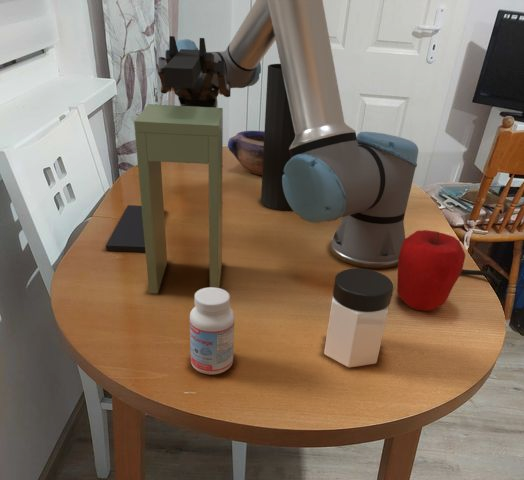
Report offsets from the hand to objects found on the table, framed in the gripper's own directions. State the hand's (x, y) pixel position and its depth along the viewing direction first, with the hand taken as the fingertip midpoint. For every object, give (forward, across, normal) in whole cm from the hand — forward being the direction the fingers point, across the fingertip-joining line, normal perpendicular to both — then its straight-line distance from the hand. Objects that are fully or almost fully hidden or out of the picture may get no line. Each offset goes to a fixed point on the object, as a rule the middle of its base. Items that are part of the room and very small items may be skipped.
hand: (186, 46), depth 82 cm
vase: (-45, -19, -16) cm, 51 cm away
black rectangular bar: (0, 0, -4) cm, 4 cm away
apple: (-4, -41, -40) cm, 57 cm away
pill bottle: (+13, -6, -49) cm, 51 cm away
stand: (-9, 0, -36) cm, 37 cm away
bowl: (-67, -16, -3) cm, 69 cm away
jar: (+9, -27, -47) cm, 55 cm away
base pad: (-27, +13, -26) cm, 40 cm away
